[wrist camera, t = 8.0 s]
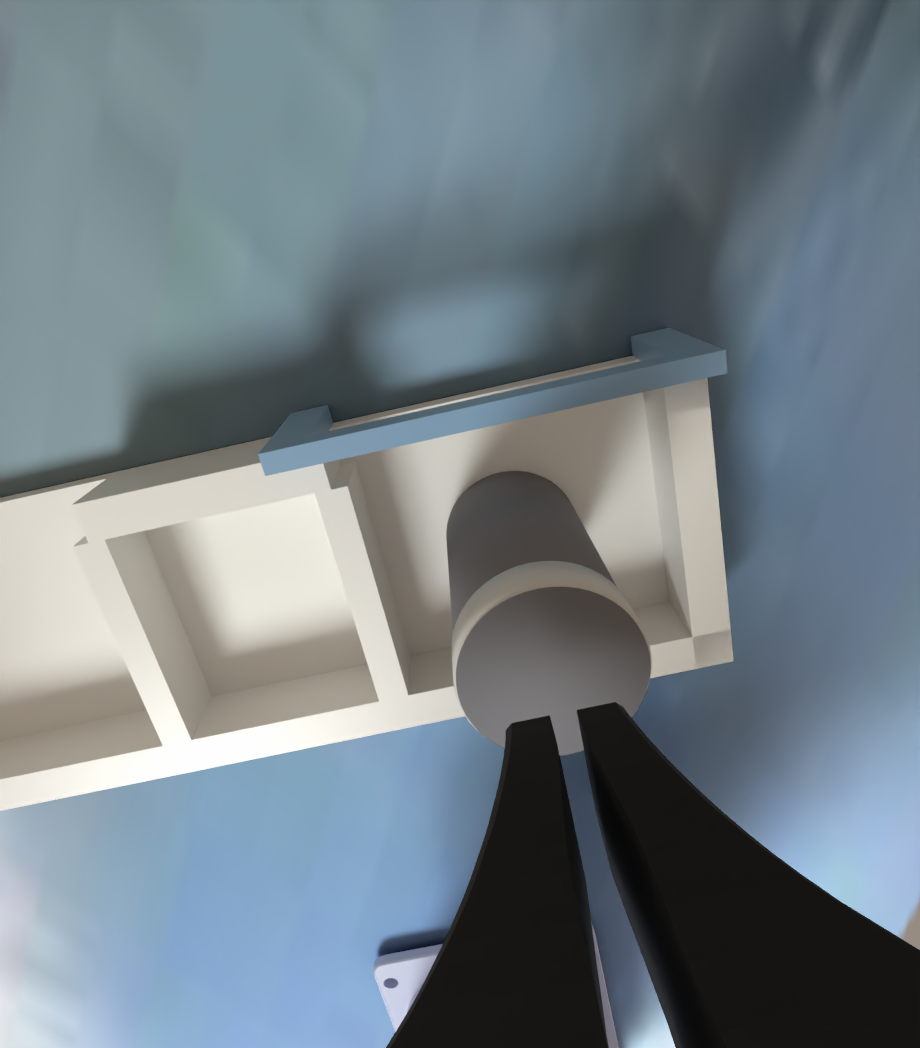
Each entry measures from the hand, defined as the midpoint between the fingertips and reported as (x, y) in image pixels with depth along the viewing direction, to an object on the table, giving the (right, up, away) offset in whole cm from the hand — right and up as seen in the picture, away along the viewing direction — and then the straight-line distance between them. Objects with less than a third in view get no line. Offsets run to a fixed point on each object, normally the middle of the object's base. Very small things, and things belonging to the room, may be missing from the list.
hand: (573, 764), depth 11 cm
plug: (0, +3, +9) cm, 9 cm away
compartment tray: (-7, +2, +10) cm, 12 cm away
